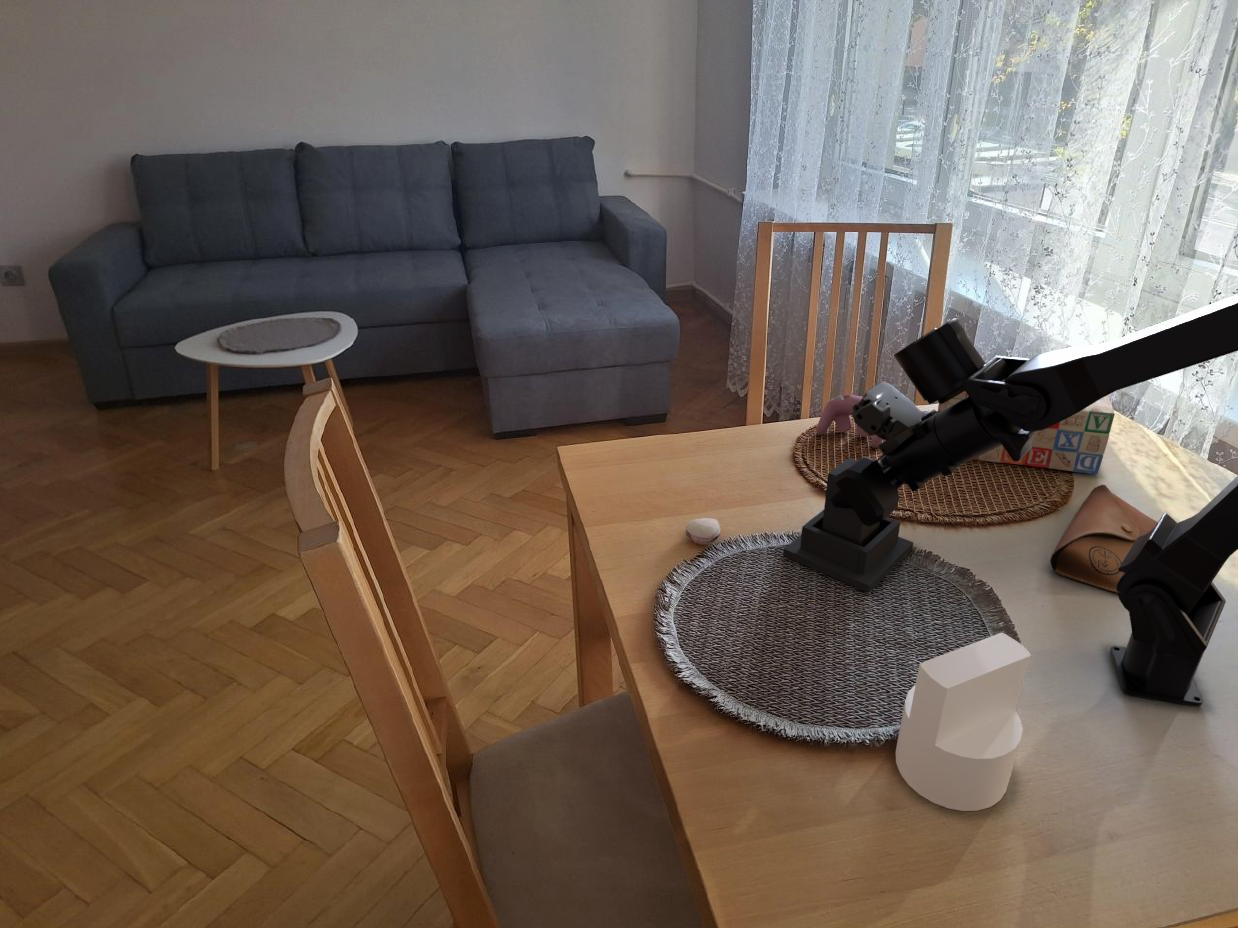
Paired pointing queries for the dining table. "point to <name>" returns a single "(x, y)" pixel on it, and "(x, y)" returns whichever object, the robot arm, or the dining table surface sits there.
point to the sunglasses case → (1099, 540)
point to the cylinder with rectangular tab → (964, 724)
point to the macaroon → (703, 530)
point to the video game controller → (842, 416)
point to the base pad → (850, 553)
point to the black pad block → (845, 515)
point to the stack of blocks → (1063, 440)
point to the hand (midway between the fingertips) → (843, 493)
